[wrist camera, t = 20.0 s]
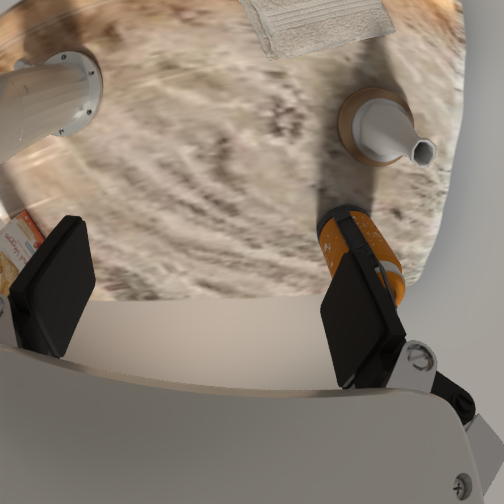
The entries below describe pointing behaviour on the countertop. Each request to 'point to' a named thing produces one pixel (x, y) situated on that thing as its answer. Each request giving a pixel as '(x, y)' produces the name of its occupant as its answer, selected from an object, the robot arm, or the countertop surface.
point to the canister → (360, 247)
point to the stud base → (348, 115)
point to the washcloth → (314, 24)
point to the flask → (394, 135)
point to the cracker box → (17, 248)
